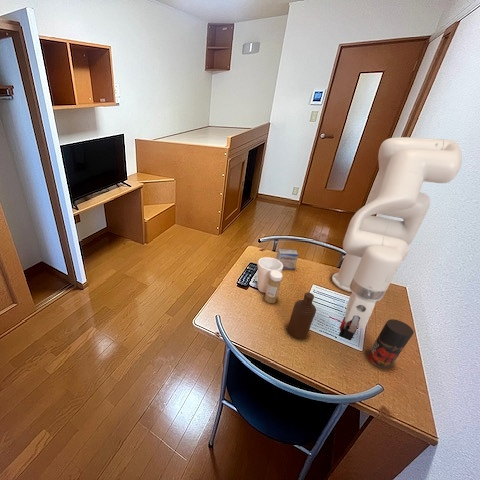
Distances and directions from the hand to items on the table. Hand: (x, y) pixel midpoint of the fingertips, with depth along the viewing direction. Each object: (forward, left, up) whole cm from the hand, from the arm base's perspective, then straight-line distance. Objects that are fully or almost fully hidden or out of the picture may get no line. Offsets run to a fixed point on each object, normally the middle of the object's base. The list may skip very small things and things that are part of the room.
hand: (345, 332), depth 80 cm
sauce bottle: (+6, -11, -8) cm, 15 cm away
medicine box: (-19, -41, -9) cm, 46 cm away
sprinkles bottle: (+3, -27, -9) cm, 29 cm away
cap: (0, 0, +1) cm, 1 cm away
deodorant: (-8, +8, -9) cm, 14 cm away
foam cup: (0, -33, -9) cm, 34 cm away
